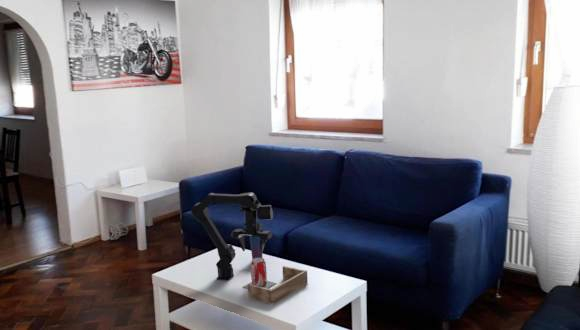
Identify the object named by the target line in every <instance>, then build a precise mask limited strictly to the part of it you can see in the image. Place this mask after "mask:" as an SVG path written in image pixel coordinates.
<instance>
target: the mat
mask: <svg viewBox="0 0 580 330" xmlns="http://www.w3.org/2000/svg"><path fill="white" fill-rule="evenodd" d="M248 284H252V281H250V282H249V283H247V284H245V285H243V286H242V288H244V289H247V290H248ZM252 285H253V284H252ZM275 285H277V282H274V281H270V280H267V283H266V284H265V285H264V286H262V287H264V288H268V289H271V288H272V287H273V286H275Z"/></svg>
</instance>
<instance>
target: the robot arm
mask: <svg viewBox="0 0 580 330" xmlns="http://www.w3.org/2000/svg"><path fill="white" fill-rule="evenodd" d="M212 203H213V204H214V203H215V204H216V203H218V204H234V205H235V204H236V205H238V206H241V208H240V209H239V212H243V213H244V222H243V226H244V228H245V229H243V228H236V229H234V230H232V232H231V238H233V239H234V240H236V242H237V243H238V245H239V247H240V248H241V250H242V251H243V252H245V251H246V245H245V237H249V236H256V237H260V240H259V242H260V251H261V253H262V254H263V252H264V248H265V245H266V243H267V241H268V240H269V239H271V238H272V237H273V233H272V231H271V230H263V227H264V224H263V223H259V222H260V221H272V220H273V218H274V211H273V208H272V205H270V204H266V205H262V203H261V202H260V201H259V200H258V198H257V195H256V194H255V193H254V192H243V193H240V194H239V193H238V194H234V193H233V194H231V193H214V192H209V194H207V195H206V196H205V198H204V199H202V201H200V202H197V203H196V204H194V205H193V206H192V207H191V210H190V213H191V214H192V216H193V217H194V218H195V220H197V221H198V222H200V223H201V224H202V226H203V227H204V229H205V231H206V232H207V234H208V236H209V237H210V239H211V241H212V242H213V244H214V245H215V247H216V249H217V255H218V257H219V260H218V261H217V262H216V263H215V266H216V269H217V277H216V279H217V280H223V281H229V280H230V279H232V277H234V276H235V274H234V267H233V264H231V263H232V261H234V259H235V258H236V249H234V247H233V244H232V243H230V244H228V243H227V242H225V240H224V238H223V237H222V234H220V232H219V230H218V229H217V227H216V225H215V224H214V222H213V220H212V218H211V217H210V212H209V209H208V207H209V206H211V204H212ZM259 220H260V221H259ZM258 232H261V233H258Z"/></svg>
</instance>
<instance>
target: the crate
mask: <svg viewBox="0 0 580 330" xmlns="http://www.w3.org/2000/svg"><path fill="white" fill-rule="evenodd" d="M282 279H283V280H285V281H283V282H282V283H280V284H277V285H276V286H274V287H273V288H272V287H271V288H264V287H260V286H256V285H252V284H249V283H247V284H248V289H247V297H248V299H252V300H255V301H258V302H262V303H266V304H269V305H273V304H275V303H277V302H279V301H280V300H282V299H284V298H285V297H287V296H289V295H290V294H292V293H293V292H296V291H297V290H298V289H300V288H302V287H304V286H306V285H307V284H308V282H309V281H308V271H307V270H305V269H300V268H297V267H291V266H286V265H283V266H282Z"/></svg>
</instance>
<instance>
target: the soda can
mask: <svg viewBox="0 0 580 330" xmlns="http://www.w3.org/2000/svg"><path fill="white" fill-rule="evenodd" d="M267 275H268V274H267V263H266V261H265V259H264V258H263V257H262V258H254V259H251V262H250V277H251V282H252V284H253V285H256V286H260V287H262V286H264V285H265V284H266V283H267V281H268V277H267Z"/></svg>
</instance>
